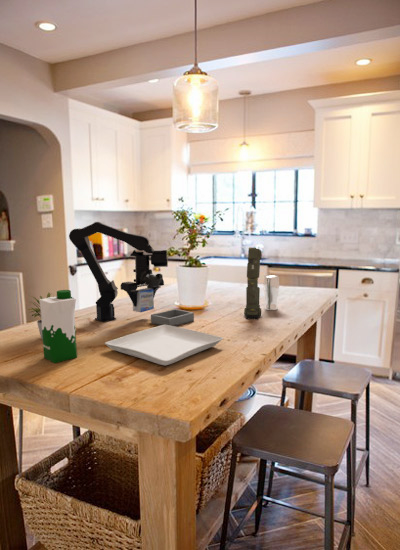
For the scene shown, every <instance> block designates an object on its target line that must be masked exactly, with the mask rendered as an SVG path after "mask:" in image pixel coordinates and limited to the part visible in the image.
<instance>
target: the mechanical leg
mask: <svg viewBox="0 0 400 550" xmlns="http://www.w3.org/2000/svg"><path fill="white" fill-rule="evenodd" d="M262 255H263V254H262V250H261V249H260V248H257V247H248V255H247V265H246V266H247V267H246V279H247V280H246V281H247V286H246V288H245V289H246V291H245V292H246V293H245V294H246V298H245V300H246V301H245V302H246V304H245V307H244V308H243V309H244V310H243V311H244V312H243V316H245V319H246V320H259V318H260V317H262V308H261V305H260V292H261V291H260V290H261V289H260V287H259V285H258V284H259V283H258V282H259V281H258V280H259V278H260V272H261V271H260V270H261V269H260V268H261V260H262Z"/></svg>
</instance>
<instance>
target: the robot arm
mask: <svg viewBox="0 0 400 550" xmlns="http://www.w3.org/2000/svg"><path fill="white" fill-rule="evenodd" d="M97 233H100V234H102V235H105V236H107V237H111V238H113V239H116V240H119V241H121V242H124V243H126V244H128V245H129V246H130V247H132V248H133V249H134V250H133V251H132V253H130V257H134V259H135V260H134V261H135V263H134V264H135V267H134V269H132V270H133V273H135V279H133V281H124V282H123V281H122V282H121V283H120V290H122V291H124V292H126V293H127V295H128V297H129V299H130V301H131V303H132V306H133V305H134V306H135V307H136V306H137V293H138V291H139V289H138V288H140V287H146V288H151V289H153V296H154V297H155V296H156V292H157V291H158V290H159V289H161V287H162V286H164V285H165V281H164V279H163V274H161V273H160V272H159V273H156V274H153V270H152V269H150V268H151V266H150V265H152V266H153V267H154V268H163V267H165V268H166V267H168V266H169V265H168V263H169V262H168V261H169V259H168V250H167V249H162V250H155V249H154V248H153V247H152V246H151V244H150V240H149V238H148V237H147V236H145V235H141V234H136V233H129V232H125V231H123V230H121V229H119V228H115V227H113V226H109V225H107V224H104V223H103V222H101V221H94V222H93V223H91V224H89V225H86V226H85V227H84V226H83V227H81V228H73V229H72V230H71V231H70V232H69V235H68V238H69V241H70V242H71V243H72V244H73V246H74V247H75V248H76V249H77V250H78V251H79V252H80V253H81V255H82V257H83V258H84V261H85V262H86V264H87V266H88V267H89V268H88V269H89V270H90V272H91V274H92V276H93V277H94V279H95V281H96V283H97V287H98V293H99V296H100V297H99V298H98V299H97V300H96V301H95V306H96V317H94V320H95V321H99V322H102V323H106V322H110V321H114V320H117V317H115V315H116V314H115V306H114V303H113V301H114V300H115V299H116V298H117V296H118V294H119V293H118V289H119V288H118V286H116V284H115V281H114V280H111V281H110V280H109V279H108V277H107V276H106V274H105V272H104V270H103V269H102V266H101V264H100V262H99V261H98V258H97V256H96V255H95V253H94V251H93V249H92V247H91V243H90V238H89V237H92V236H93V235H94V234H97ZM137 250H138V251H137Z"/></svg>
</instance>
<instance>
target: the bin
mask: <svg viewBox="0 0 400 550" xmlns="http://www.w3.org/2000/svg"><path fill="white" fill-rule="evenodd" d="M194 315H195V312H191V311H187V310H183V309H179V308H178V309H177V308H173V309H170V310H169V309H168V310H165V311H161V312H156V313H153V314H150V324H153V325H156V326H161V325H169V326H175V327H180V326H182V325H186V324H189V323H193V322H195V316H194Z"/></svg>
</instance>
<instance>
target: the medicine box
mask: <svg viewBox="0 0 400 550" xmlns="http://www.w3.org/2000/svg"><path fill="white" fill-rule="evenodd" d="M138 290H139V291H138V293H137V306H136V307H135V306H134V305H133V304H132V311H133V312H136V313H143V312H148V311H150V310H154V309H155V308H154V307H155V306H154V304H155V303H154V302H155V301H154V299H155V296H153V289H151V288H147V287H145V288H140V289H138Z"/></svg>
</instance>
